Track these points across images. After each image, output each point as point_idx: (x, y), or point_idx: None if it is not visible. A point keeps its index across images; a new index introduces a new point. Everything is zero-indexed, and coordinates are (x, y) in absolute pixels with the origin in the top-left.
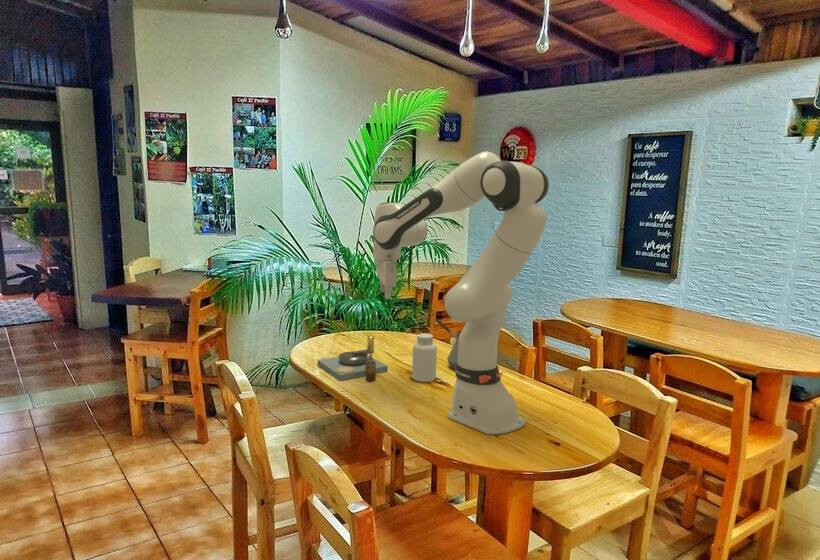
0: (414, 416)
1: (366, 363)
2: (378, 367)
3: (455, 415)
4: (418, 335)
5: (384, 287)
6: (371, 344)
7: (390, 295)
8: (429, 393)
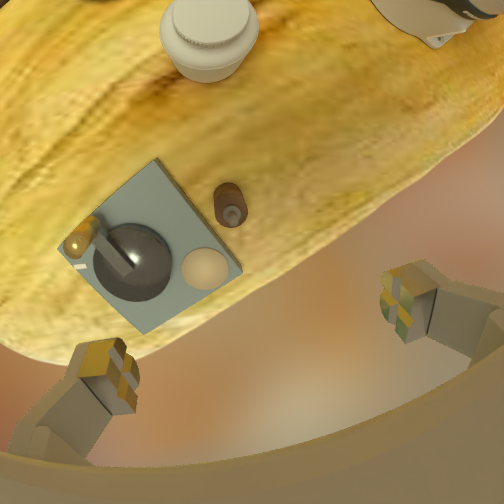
0: (428, 105)
1: (241, 223)
2: (170, 185)
3: (436, 37)
4: (213, 38)
5: (116, 385)
6: (90, 233)
7: (437, 274)
8: (320, 48)
